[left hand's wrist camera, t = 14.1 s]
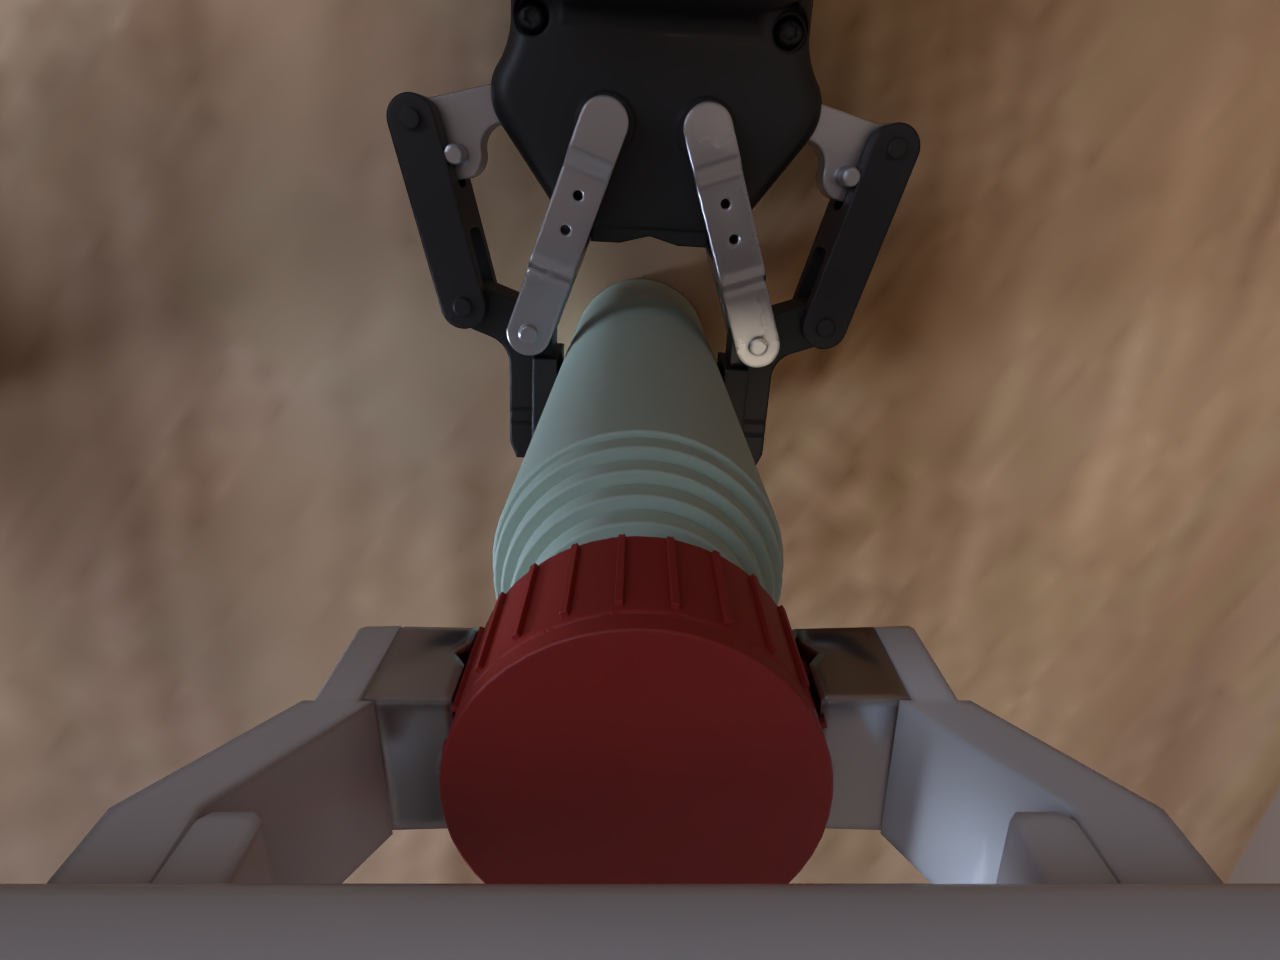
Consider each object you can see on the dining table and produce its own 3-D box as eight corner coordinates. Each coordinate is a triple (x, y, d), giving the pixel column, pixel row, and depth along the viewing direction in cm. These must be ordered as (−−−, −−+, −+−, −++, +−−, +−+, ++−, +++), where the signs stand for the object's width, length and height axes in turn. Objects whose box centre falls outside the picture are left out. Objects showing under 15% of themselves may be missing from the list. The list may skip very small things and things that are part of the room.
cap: (465, 790, 11) (426, 928, 9) (481, 509, 9) (437, 601, 7) (768, 820, 11) (795, 960, 9) (831, 549, 10) (880, 647, 8)
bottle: (570, 398, 30) (411, 912, 9) (582, 271, 29) (420, 552, 8) (693, 412, 31) (808, 948, 10) (713, 287, 29) (905, 605, 8)
